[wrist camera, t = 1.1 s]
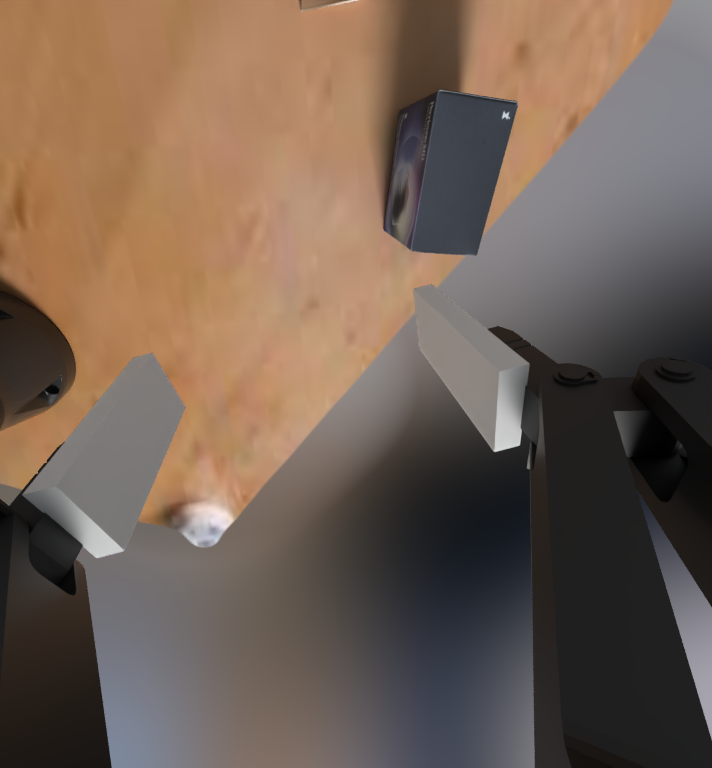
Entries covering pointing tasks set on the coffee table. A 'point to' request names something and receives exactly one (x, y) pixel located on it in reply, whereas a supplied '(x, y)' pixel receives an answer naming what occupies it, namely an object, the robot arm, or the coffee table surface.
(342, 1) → the walnut block
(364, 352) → the coffee table surface
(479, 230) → the small box
